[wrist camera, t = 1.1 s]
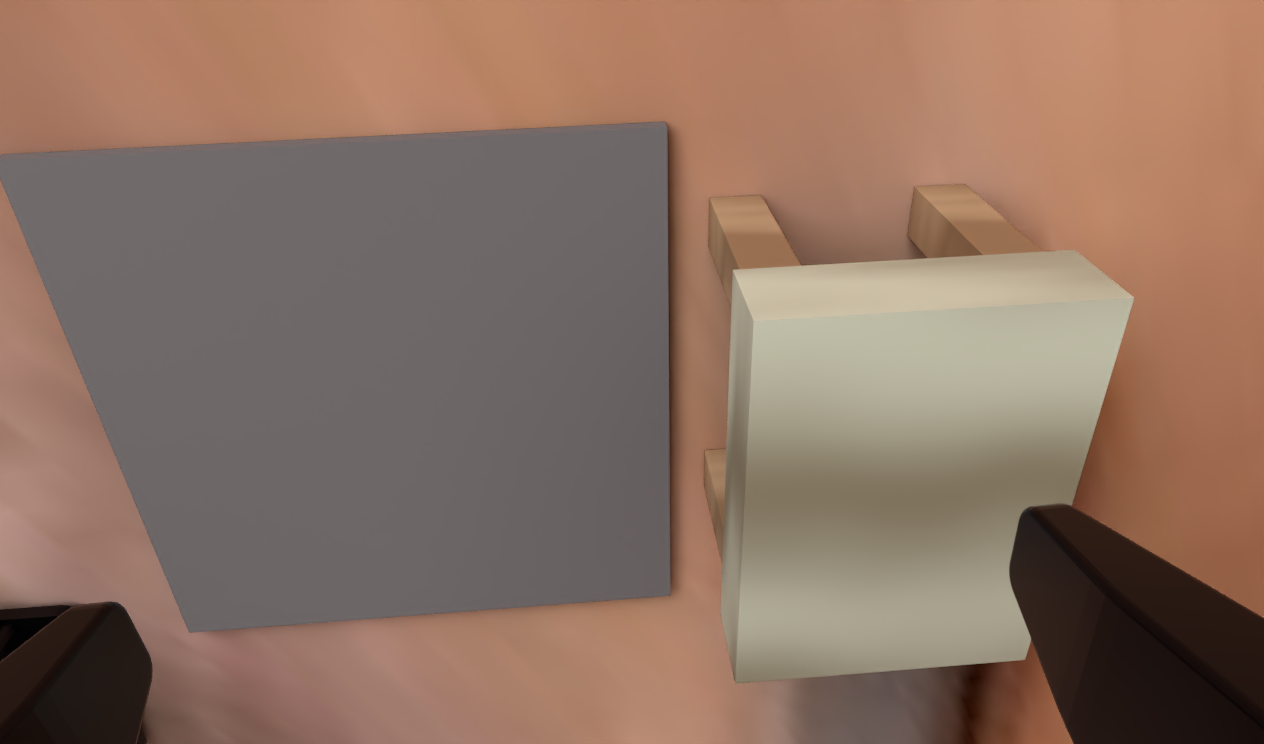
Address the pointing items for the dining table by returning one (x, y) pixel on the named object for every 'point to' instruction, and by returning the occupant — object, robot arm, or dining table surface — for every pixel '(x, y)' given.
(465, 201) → the felt pad
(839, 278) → the stool
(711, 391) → the dining table surface
